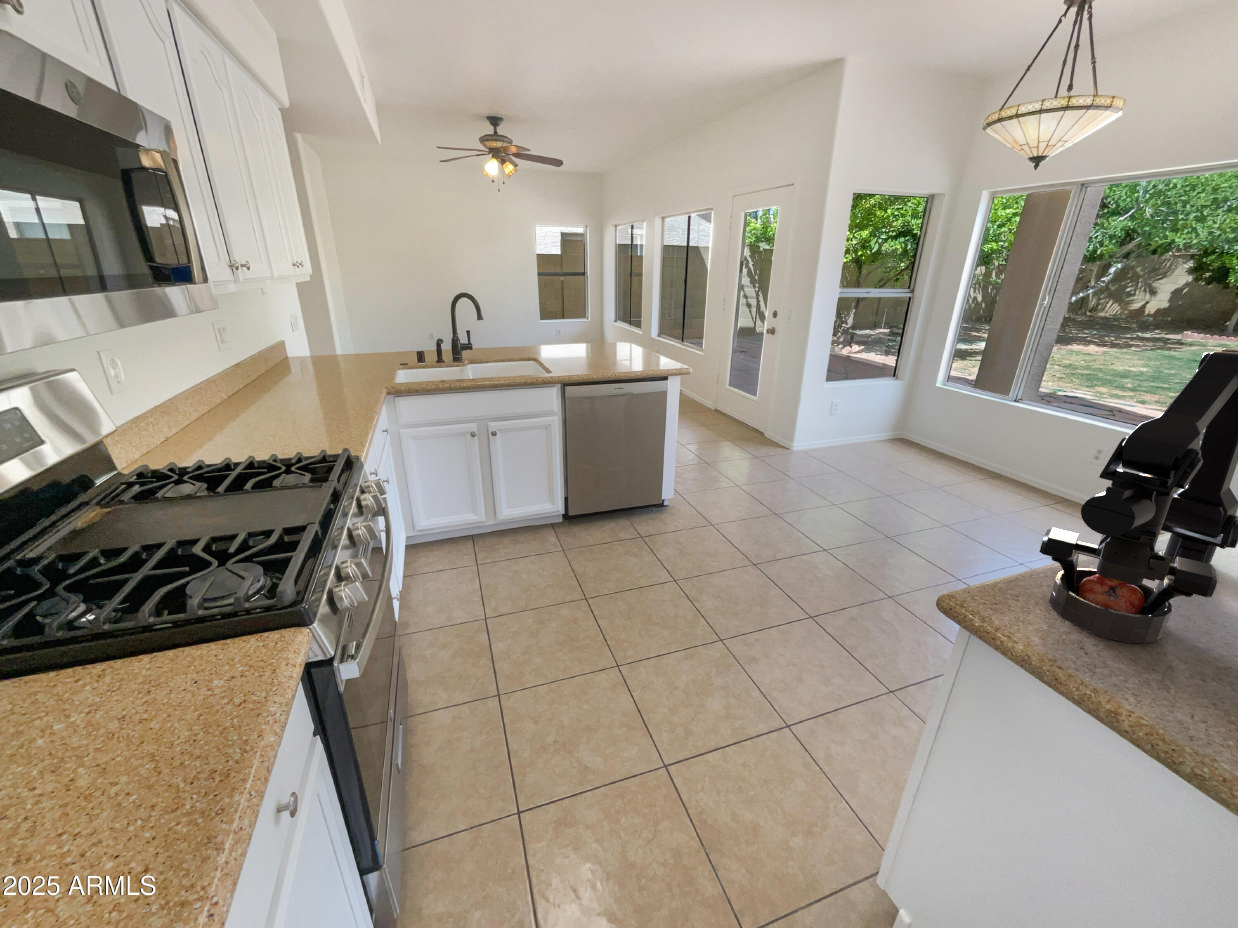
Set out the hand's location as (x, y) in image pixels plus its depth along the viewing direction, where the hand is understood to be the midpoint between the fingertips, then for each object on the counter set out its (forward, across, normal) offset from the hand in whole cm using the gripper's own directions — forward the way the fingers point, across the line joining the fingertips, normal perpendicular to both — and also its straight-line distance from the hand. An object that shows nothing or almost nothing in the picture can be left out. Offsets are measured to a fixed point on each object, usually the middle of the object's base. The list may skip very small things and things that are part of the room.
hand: (1106, 606), depth 80 cm
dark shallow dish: (+2, 0, 0) cm, 2 cm away
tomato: (+2, 0, 0) cm, 2 cm away
